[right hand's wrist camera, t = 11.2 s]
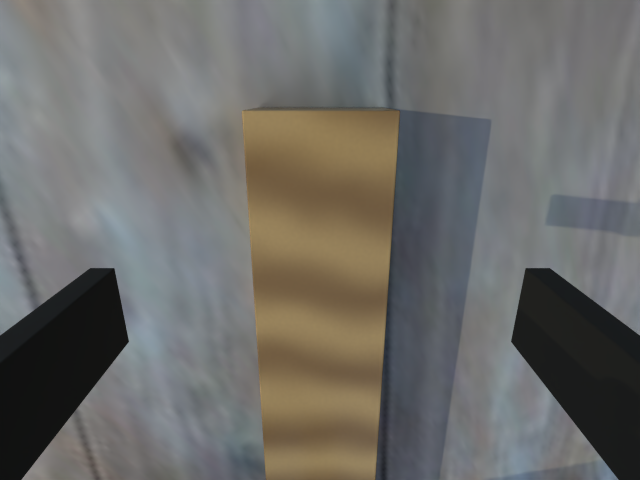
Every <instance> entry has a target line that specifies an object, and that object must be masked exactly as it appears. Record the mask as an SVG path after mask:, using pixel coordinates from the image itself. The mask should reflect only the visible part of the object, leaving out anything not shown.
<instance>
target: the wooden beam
mask: <svg viewBox="0 0 640 480" xmlns="http://www.w3.org/2000/svg"><path fill="white" fill-rule="evenodd" d="M242 118H243V134H244V149H245V164H246V180H247V195H248V210H249V226H250V241H251V256H252V272H253V287H254V302H255V318H256V333H257V348H258V364H259V379H260V394H261V410H262V425H263V440H264V456H265V471H266V480H375V476H376V461H377V446H378V432H379V417H380V402H381V387H382V372H383V357H384V343H385V328H386V313H387V298H388V283H389V268H390V254H391V239H392V224H393V209H394V194H395V179H396V165H397V150H398V135H399V120H400V111H399V110H393V109H388V108H254V109H248V110H243V111H242Z"/></svg>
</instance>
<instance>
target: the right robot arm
mask: <svg viewBox="0 0 640 480" xmlns="http://www.w3.org/2000/svg"><path fill="white" fill-rule="evenodd" d="M128 342H129V340H128V335H127V330H126V325H125V320H124V315H123V310H122V305H121V300H120V295H119V290H118V285H117V280H116V275H115V270H114V268H90V269H89V270H87V271H86V272H85V273H83V274H82V275H81V276H79V277H78V278H77V279H75V280H74V281H73V282H71V283H70V284H69V285H67V286H66V287H65V288H63V289H62V290H61V291H59V292H58V293H57V294H55V295H54V296H53V297H51V298H50V299H49V300H47V301H46V302H45V303H43V304H42V305H41V306H39V307H38V308H37V309H35V310H34V311H33V312H31V313H30V314H28V315H27V316H26V317H24V318H23V319H22V320H20V321H19V322H18V323H16V324H15V325H14V326H12V327H11V328H10V329H8V330H7V331H6V332H4V333H3V334H2V335H0V480H21V479H22V478H23V477H24V476H25V474H26V473H27V472H28V470H29V469H30V468H31V467H32V465H33V464H34V463H35V461H36V460H37V459H38V458H39V456H40V455H41V454H42V452H43V451H44V450H45V449H46V447H47V446H48V445H49V443H50V442H51V441H52V440H53V438H54V437H55V436H56V434H57V433H58V432H59V431H60V429H61V428H62V427H63V425H64V424H65V423H66V422H67V420H68V419H69V418H70V417H71V415H72V414H73V413H74V411H75V410H76V409H77V408H78V406H79V405H80V404H81V402H82V401H83V400H84V399H85V397H86V396H87V395H88V393H89V392H90V391H91V390H92V388H93V387H94V386H95V384H96V383H97V382H98V381H99V379H100V378H101V377H102V375H103V374H104V373H105V372H106V370H107V369H108V368H109V366H110V365H111V364H112V363H113V361H114V360H115V359H116V357H117V356H118V355H119V354H120V352H121V351H122V350H123V349H124V347H125V346H126V345H127V343H128ZM511 342H512V343H513V345H514V346H515V347H516V349H517V350H518V351H519V352H520V354H521V355H522V356H523V357H524V359H525V360H526V361H527V363H528V364H529V365H530V366H531V368H532V369H533V370H534V372H535V373H536V374H537V375H538V377H539V378H540V379H541V381H542V382H543V383H544V384H545V386H546V387H547V388H548V390H549V391H550V392H551V393H552V395H553V396H554V397H555V399H556V400H557V401H558V402H559V404H560V405H561V406H562V408H563V409H564V410H565V411H566V413H567V414H568V415H569V417H570V418H571V419H572V420H573V422H574V423H575V424H576V425H577V427H578V428H579V429H580V431H581V432H582V433H583V434H584V436H585V437H586V438H587V440H588V441H589V442H590V443H591V445H592V446H593V447H594V449H595V450H596V451H597V452H598V454H599V455H600V456H601V458H602V459H603V460H604V461H605V463H606V464H607V465H608V467H609V468H610V469H611V470H612V472H613V473H614V474H615V476H616V477H617V478H618V479H619V480H640V335H638V334H637V333H636V332H634V331H633V330H632V329H630V328H629V327H628V326H626V325H625V324H624V323H622V322H621V321H620V320H618V319H617V318H616V317H614V316H613V315H612V314H610V313H609V312H607V311H606V310H605V309H603V308H602V307H601V306H599V305H598V304H597V303H595V302H594V301H593V300H591V299H590V298H589V297H587V296H586V295H585V294H583V293H582V292H581V291H579V290H578V289H577V288H575V287H574V286H573V285H571V284H570V283H569V282H567V281H566V280H565V279H563V278H562V277H561V276H559V275H558V274H557V273H555V272H554V271H553V270H551V269H550V268H526V270H525V275H524V280H523V285H522V290H521V295H520V300H519V305H518V310H517V315H516V320H515V325H514V330H513V335H512V340H511Z"/></svg>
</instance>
